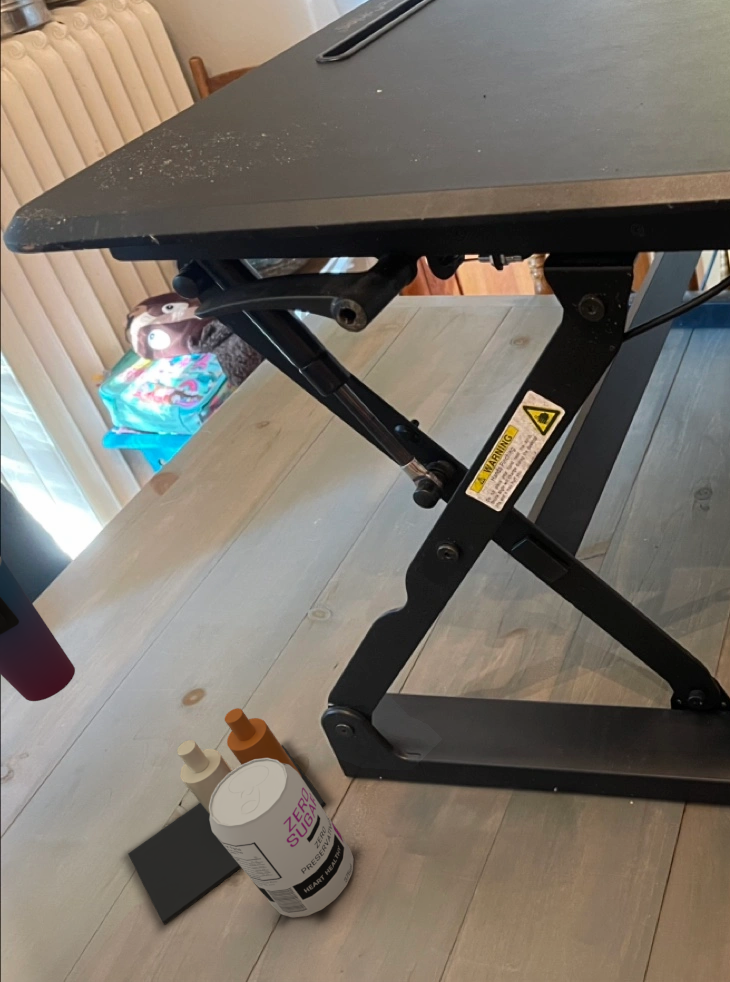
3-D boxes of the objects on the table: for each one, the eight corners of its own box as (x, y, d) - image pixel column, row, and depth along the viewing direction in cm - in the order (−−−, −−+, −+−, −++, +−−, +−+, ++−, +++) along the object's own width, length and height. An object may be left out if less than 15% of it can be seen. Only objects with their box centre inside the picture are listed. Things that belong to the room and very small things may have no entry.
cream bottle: (229, 841, 109) (173, 771, 102) (215, 819, 111) (159, 749, 104) (265, 815, 111) (212, 745, 103) (250, 793, 113) (198, 723, 106)
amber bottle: (273, 809, 111) (221, 738, 104) (259, 787, 114) (207, 717, 106) (308, 784, 113) (259, 713, 106) (293, 763, 116) (244, 692, 108)
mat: (164, 924, 103) (162, 922, 103) (130, 856, 110) (127, 853, 110) (326, 804, 111) (324, 801, 111) (284, 747, 118) (282, 744, 118)
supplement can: (271, 864, 106) (202, 775, 97) (352, 830, 108) (292, 739, 99) (274, 935, 100) (200, 847, 91) (360, 897, 102) (295, 807, 93)
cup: (1, 713, 105) (-93, 608, 96) (33, 661, 111) (-53, 557, 102) (66, 703, 105) (-22, 596, 96) (95, 651, 110) (14, 545, 101)
